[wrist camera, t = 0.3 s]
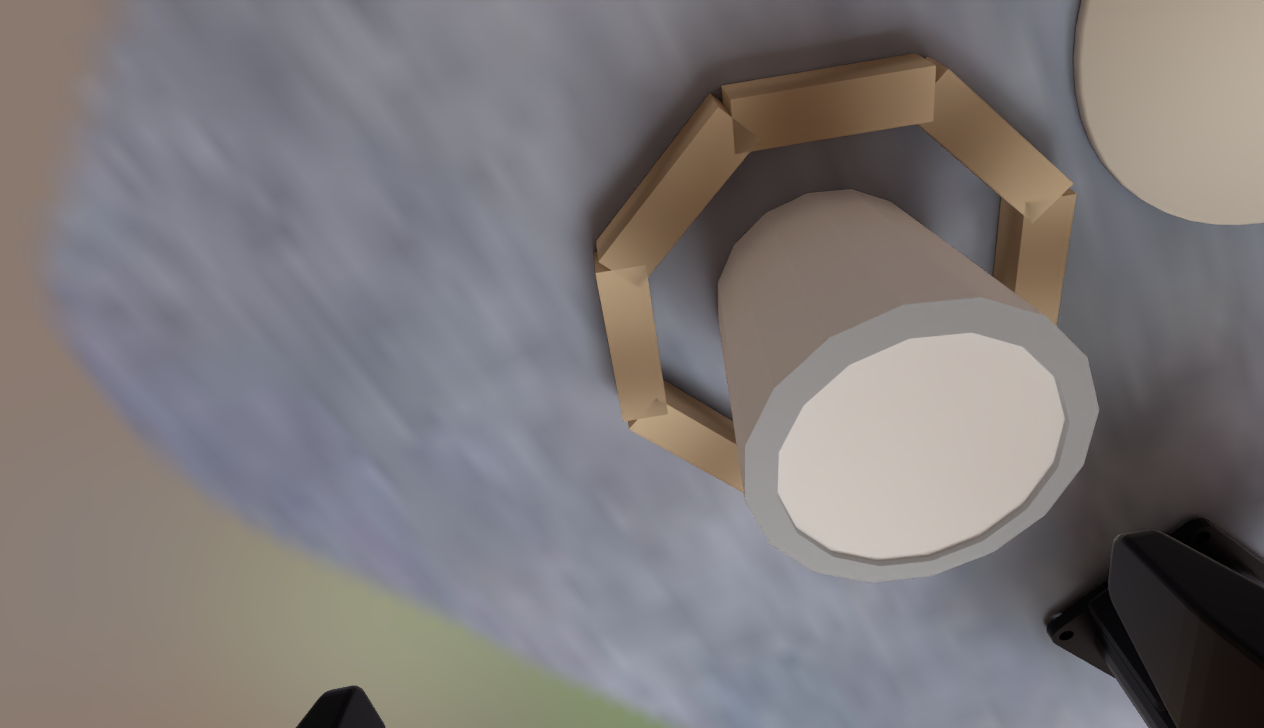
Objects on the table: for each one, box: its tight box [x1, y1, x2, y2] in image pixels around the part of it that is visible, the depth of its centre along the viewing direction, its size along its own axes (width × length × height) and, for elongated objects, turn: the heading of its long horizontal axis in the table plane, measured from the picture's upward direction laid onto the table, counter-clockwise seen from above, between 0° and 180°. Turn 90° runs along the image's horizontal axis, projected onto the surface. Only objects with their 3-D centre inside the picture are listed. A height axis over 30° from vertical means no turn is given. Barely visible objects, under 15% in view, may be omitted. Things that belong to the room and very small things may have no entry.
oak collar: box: [594, 53, 1077, 493], centre depth 21 cm, size 11×11×1 cm
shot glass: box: [718, 189, 1099, 583], centre depth 19 cm, size 7×7×7 cm
